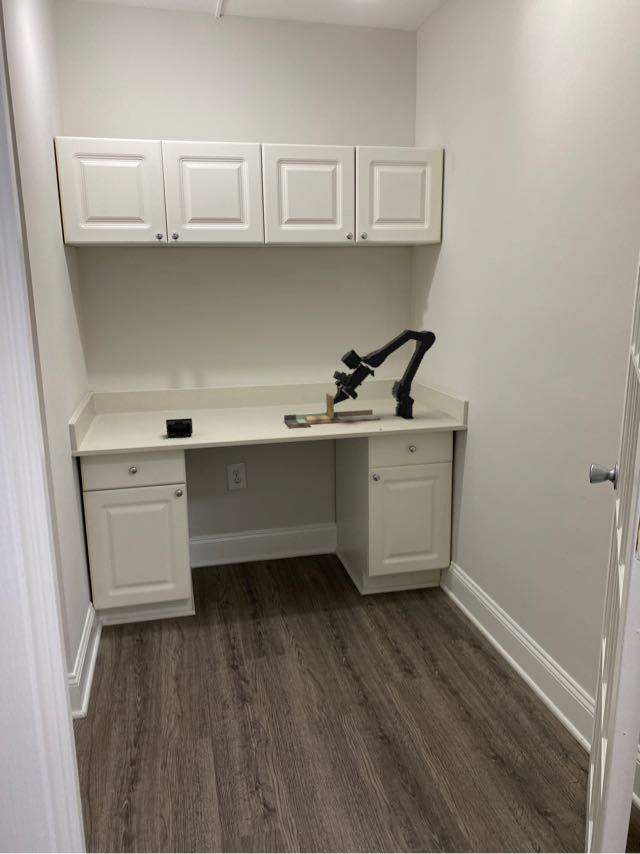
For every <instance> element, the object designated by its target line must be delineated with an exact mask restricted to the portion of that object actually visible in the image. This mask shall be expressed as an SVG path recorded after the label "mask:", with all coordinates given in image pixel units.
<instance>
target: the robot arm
mask: <svg viewBox="0 0 640 854" xmlns="http://www.w3.org/2000/svg"><path fill="white" fill-rule="evenodd" d="M411 340H414V341H415V349H414V352H413V354H412V356H411V358H410V360H409V362H408V364H407V367H406V369H405V371H404V373H403V375H402V377H401V378H400V380H399V381H398V380H395V381H394V384H393V386H392V387H391V395H392V397H393V398H394V399H395V401H396V406H395V416H396V417H400V418H402V419H403V420H405V419H406V420H407V419H414V418H415V417H414V416H413V408H414V407H413V405H414V403H415V399H414V398H413V397H412V396H411V395H410V394H411V391H412V383H413V381H414V378H415V376H416V373H417V372H418V370H419V368H420V365H421V363H422V361H423V360H424V356H425V354H426V353H427V352H428V351H430V349H431V348H432V346H433V345H434V343H435V342H436V340H437V337H436V334H435V332H433V331H430V330H424V329H423V330H421V331H417V330H416V331H415V330H412V329H404V330H403V331H402V332H401V333H400V334H398V335H397V336H395V337H394V338H393V339H392V340H390V341H389V342H388V343H386V344H385V345H384V346H382V347H380V348H378V349H376V350H374V351H372V352H368V353H367V354H366V355H365V356H364V355H363V356H360V355H359V354H357V352H356V350H354V349H353V348H352V349H350V350H349V351H348V352H346V353H344V355H342V357H341V359H340V361H341V362H342V363H343V364H344V365H345V366H346V367H347V368H348V369H349V370H353V371H352V373H348V374H347V372H345V371H337V370H335V372H334V373H333V375H332V378H333V379H335V380H336V381H335V382H334V384H335V385H336V391H337V392H336V393H335V395H334V405H337V404H338V403H341V402H344V401H346V400H348V399H351V398H352V400H354V401H355V400H356V399H357V398H358V397H359V395H358V392H357V391H356V389H357V388H358V387H359V386H362V384H363V382H364V381H365V380H366V378H368V377H369V376H371V377H373V378H374V377H375V370H374V369H377V368H379V367H381V365H383V363H384V362H385V361H386V360H387V358H388V357H389V356H390V355H391V354H392V353H394V352H396V351H397V350H398V349H400V348H401V347H402V346H404V345H405V344H406V343H408V342H409V341H411ZM364 364H365V365H364ZM370 367H371V368H373V369H371V368H370Z"/></svg>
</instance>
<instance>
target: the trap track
mask: <svg viewBox="0 0 640 854" xmlns="http://www.w3.org/2000/svg"><path fill="white" fill-rule="evenodd" d="M319 415H327V411H326V412H313V413H296V414H295V413H293V414H284V415H283V420H284V423H285V425H286V426H287V428H288V429H289V424H291V423H306V422H307V421H306V420H305V416H319ZM367 418H377V417H376V416H375V415H374V413H373V409H363V410H362V409H361V410H346V411H342V410H341V411H334V421H337V420H352V419H367Z"/></svg>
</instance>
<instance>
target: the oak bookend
mask: <svg viewBox="0 0 640 854" xmlns="http://www.w3.org/2000/svg"><path fill="white" fill-rule="evenodd" d="M325 397H326V401H325V403H326V404H325V405H326V412H327V415H319V416H305V420H306V421H307V422H321V421H334V412H335V410H334V409H335V407H334V405H335V404H334V397H335V395H333V394H331V393H330V392H326V396H325Z"/></svg>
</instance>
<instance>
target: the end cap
mask: <svg viewBox="0 0 640 854" xmlns="http://www.w3.org/2000/svg"><path fill="white" fill-rule="evenodd" d="M165 424H166V425H165V426H166V435H167V439H168V438H171V439H185V438H186V439H187V437H188V438H192V435H193V431H194V430H193V419H192V418H188V417H187V418H171V419H165Z"/></svg>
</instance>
